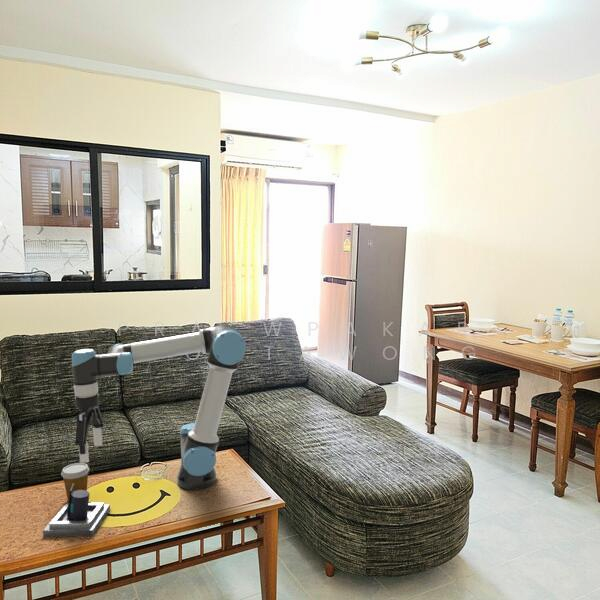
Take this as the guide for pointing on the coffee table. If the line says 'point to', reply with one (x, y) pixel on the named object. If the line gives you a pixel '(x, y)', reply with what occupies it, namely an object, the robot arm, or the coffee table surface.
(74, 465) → the disposable coffee cup
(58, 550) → the coffee table surface
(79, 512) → the speaker
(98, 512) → the white square tray
